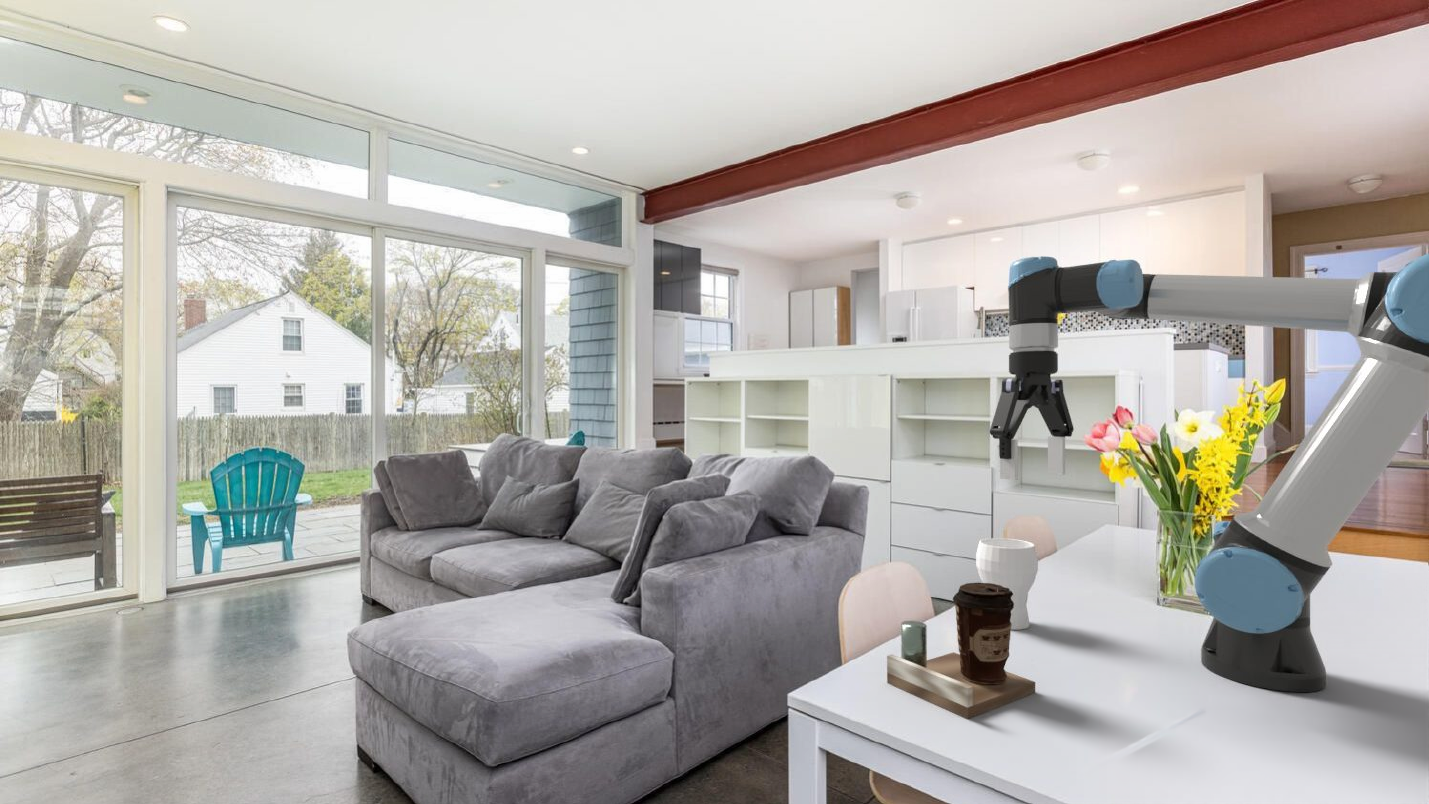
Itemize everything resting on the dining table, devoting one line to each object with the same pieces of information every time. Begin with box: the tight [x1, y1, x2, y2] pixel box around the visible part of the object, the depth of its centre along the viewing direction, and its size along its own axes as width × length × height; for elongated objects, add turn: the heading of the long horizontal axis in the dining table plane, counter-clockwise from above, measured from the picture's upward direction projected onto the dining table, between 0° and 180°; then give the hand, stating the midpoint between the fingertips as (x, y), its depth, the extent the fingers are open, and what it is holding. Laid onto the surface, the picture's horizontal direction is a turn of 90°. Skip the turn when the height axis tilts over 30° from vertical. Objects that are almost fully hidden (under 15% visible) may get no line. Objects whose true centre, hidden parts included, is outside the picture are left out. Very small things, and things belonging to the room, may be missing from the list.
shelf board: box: [886, 652, 1036, 720], centre depth 101 cm, size 14×15×4 cm
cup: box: [975, 537, 1039, 631], centre depth 129 cm, size 11×11×15 cm
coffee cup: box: [952, 582, 1014, 684], centre depth 100 cm, size 9×8×13 cm
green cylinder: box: [900, 620, 928, 668], centre depth 103 cm, size 4×4×7 cm
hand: (1033, 476), depth 117 cm, fingers open, 13 cm apart
